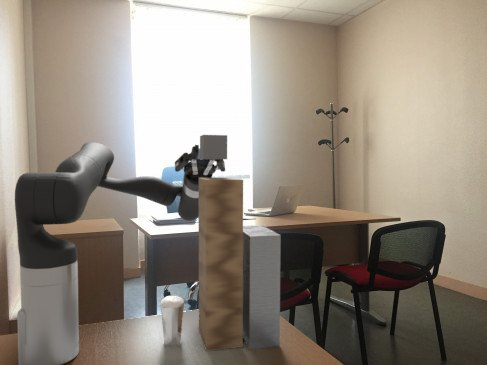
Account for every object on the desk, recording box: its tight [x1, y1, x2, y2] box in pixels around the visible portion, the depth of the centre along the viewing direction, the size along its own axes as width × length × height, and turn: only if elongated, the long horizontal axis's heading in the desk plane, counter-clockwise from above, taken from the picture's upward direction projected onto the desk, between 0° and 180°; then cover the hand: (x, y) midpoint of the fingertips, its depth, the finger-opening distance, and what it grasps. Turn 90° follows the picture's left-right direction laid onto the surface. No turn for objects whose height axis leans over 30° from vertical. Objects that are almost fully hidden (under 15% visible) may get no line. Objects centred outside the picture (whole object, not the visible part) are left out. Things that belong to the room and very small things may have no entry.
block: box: [197, 134, 228, 160], centre depth 92 cm, size 5×19×5 cm, turn 14°
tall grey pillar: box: [242, 224, 282, 350], centre depth 81 cm, size 6×12×22 cm, turn 14°
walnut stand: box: [198, 177, 244, 351], centre depth 79 cm, size 7×10×32 cm
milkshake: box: [160, 293, 188, 348], centre depth 77 cm, size 4×5×10 cm
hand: (205, 147), depth 96 cm, fingers closed on block, 3 cm apart
